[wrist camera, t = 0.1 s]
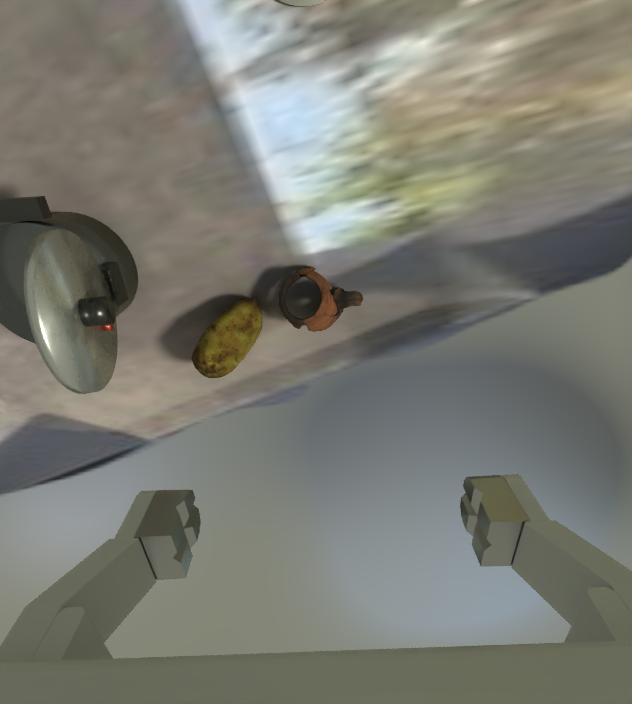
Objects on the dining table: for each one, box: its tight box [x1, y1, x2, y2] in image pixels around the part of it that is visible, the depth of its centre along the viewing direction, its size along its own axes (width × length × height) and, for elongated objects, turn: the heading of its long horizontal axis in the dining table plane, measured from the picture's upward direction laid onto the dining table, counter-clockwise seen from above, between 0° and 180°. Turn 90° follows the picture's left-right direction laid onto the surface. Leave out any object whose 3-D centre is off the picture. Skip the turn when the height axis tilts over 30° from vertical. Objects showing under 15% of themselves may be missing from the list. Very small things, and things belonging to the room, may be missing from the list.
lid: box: [24, 229, 118, 394], centre depth 40 cm, size 17×17×3 cm
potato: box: [192, 298, 262, 378], centre depth 58 cm, size 8×13×8 cm, turn 121°
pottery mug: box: [279, 267, 363, 331], centre depth 56 cm, size 12×10×8 cm
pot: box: [0, 196, 138, 343], centre depth 52 cm, size 21×17×10 cm
